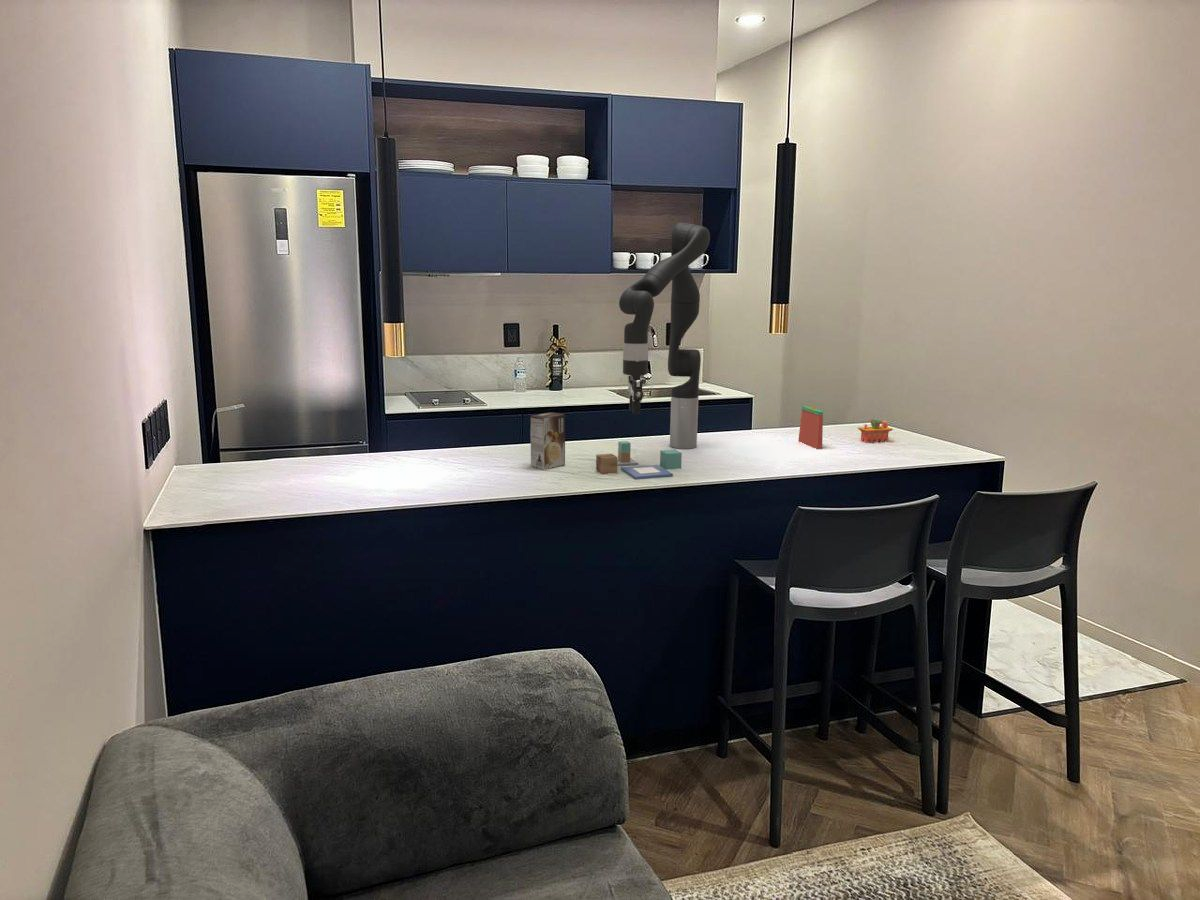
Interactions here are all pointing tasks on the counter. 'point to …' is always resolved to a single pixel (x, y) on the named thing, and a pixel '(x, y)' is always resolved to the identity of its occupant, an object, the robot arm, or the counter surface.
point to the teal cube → (670, 459)
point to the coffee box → (547, 440)
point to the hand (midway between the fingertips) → (634, 412)
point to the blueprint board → (646, 471)
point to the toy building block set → (814, 429)
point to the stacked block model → (625, 454)
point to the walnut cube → (606, 463)
